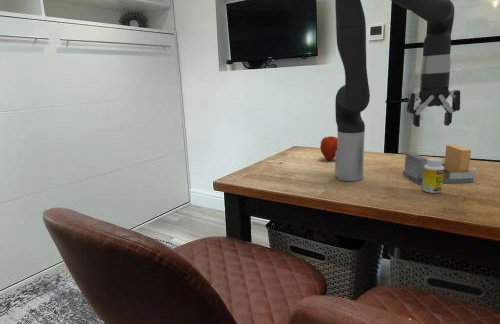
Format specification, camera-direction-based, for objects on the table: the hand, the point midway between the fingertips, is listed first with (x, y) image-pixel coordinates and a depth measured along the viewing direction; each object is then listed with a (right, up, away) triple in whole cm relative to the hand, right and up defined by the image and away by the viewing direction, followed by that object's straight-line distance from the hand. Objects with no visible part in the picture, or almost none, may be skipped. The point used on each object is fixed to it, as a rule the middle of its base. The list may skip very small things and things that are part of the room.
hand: (431, 126), depth 103 cm
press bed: (+10, -17, +15) cm, 24 cm away
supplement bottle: (+2, -20, +3) cm, 21 cm away
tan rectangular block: (+16, -15, +14) cm, 26 cm away
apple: (-21, -10, +45) cm, 51 cm away
